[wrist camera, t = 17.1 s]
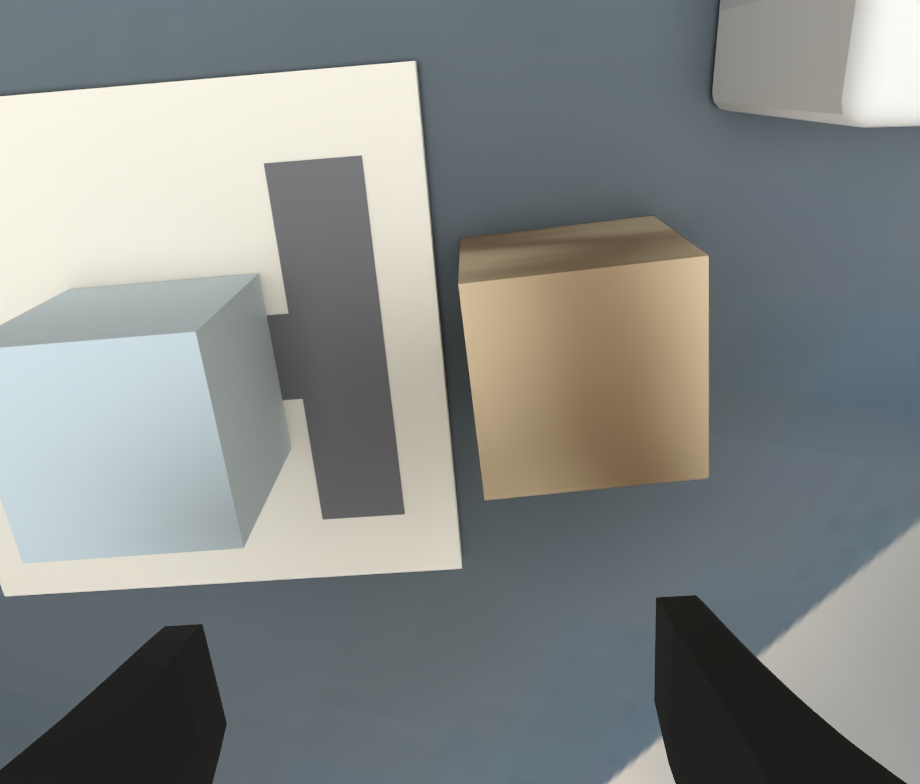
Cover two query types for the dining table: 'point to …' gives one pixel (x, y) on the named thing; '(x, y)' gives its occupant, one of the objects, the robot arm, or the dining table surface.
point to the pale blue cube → (139, 419)
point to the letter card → (283, 286)
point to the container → (820, 60)
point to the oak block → (587, 356)
